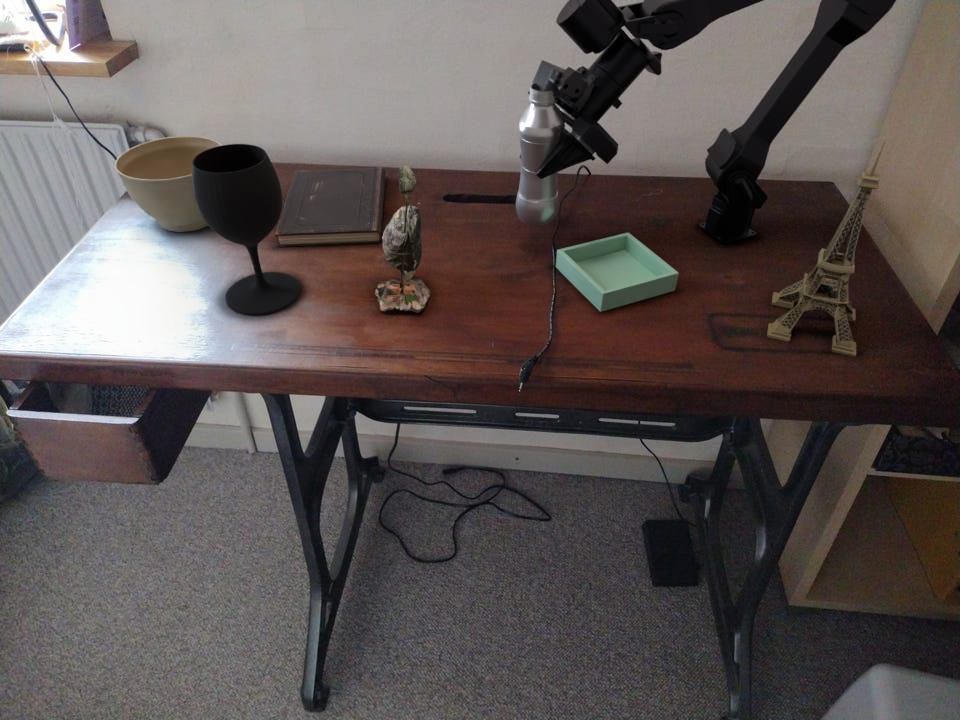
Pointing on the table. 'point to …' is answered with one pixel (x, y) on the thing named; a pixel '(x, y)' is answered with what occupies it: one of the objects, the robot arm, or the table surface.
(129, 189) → the planter bowl
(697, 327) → the table surface
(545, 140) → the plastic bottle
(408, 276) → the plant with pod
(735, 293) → the table surface
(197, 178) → the wine glass
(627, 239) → the bin
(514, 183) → the table surface
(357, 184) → the hardcover book
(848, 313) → the eiffel tower
